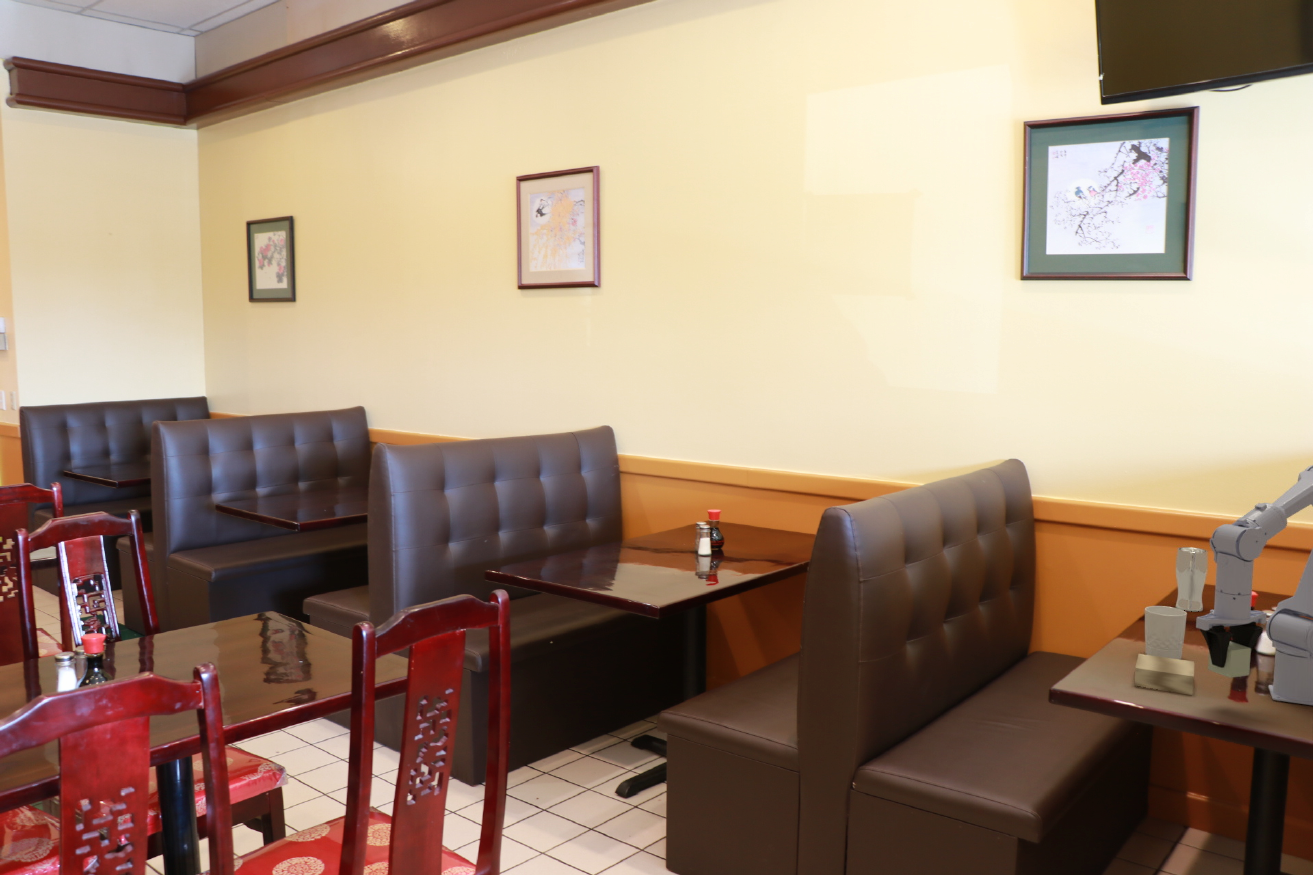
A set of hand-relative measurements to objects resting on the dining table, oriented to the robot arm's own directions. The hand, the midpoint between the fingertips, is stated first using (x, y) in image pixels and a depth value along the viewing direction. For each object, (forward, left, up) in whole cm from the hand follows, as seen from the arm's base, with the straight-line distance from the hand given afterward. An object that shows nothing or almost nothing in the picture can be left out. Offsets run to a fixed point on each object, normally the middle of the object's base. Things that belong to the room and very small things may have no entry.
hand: (1228, 664), depth 180 cm
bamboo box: (+10, -10, -9) cm, 17 cm away
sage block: (0, 0, -2) cm, 2 cm away
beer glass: (+4, -74, -8) cm, 74 cm away
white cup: (+10, -28, -8) cm, 31 cm away
